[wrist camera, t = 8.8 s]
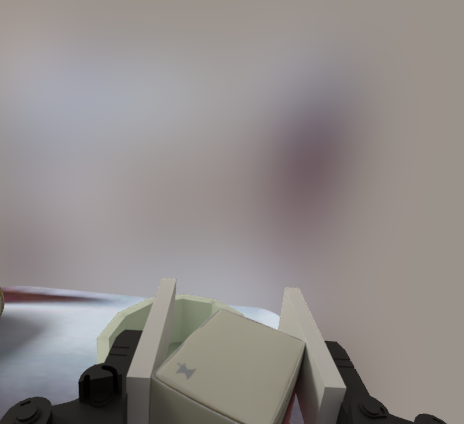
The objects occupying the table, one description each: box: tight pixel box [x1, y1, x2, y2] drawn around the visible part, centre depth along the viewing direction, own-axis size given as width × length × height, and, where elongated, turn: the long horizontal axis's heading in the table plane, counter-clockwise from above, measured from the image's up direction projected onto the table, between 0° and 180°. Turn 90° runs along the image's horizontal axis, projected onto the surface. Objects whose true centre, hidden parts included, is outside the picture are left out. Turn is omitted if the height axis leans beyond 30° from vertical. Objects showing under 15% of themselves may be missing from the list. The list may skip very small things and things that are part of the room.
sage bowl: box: [97, 294, 245, 364], centre depth 31 cm, size 15×15×7 cm
